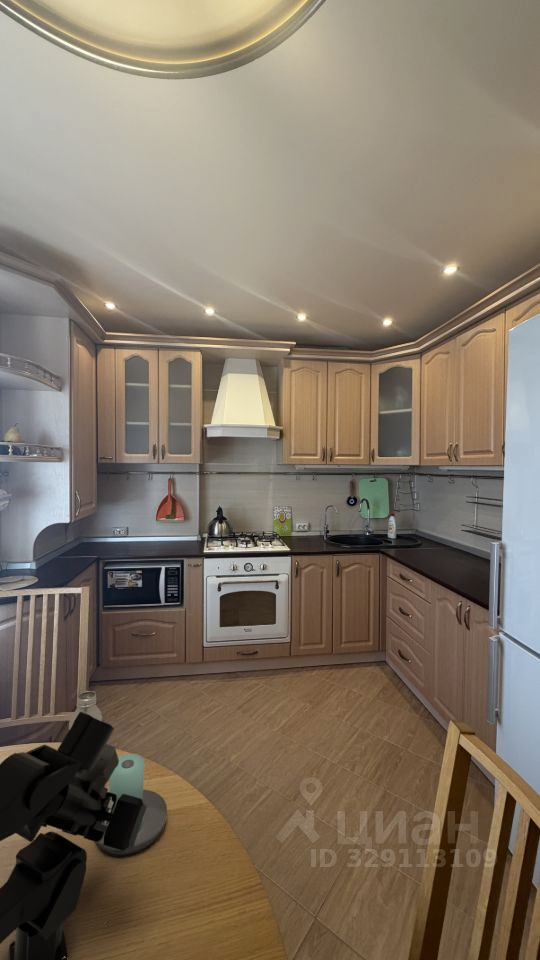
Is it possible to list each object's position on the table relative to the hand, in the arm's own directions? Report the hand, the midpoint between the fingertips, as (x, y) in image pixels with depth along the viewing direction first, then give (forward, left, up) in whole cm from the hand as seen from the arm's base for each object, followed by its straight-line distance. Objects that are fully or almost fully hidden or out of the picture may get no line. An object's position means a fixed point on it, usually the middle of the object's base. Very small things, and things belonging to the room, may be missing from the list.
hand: (107, 819), depth 69 cm
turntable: (+5, -6, -6) cm, 10 cm away
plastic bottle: (+20, 0, -8) cm, 22 cm away
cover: (+4, -4, -5) cm, 8 cm away
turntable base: (+5, -6, -8) cm, 11 cm away
